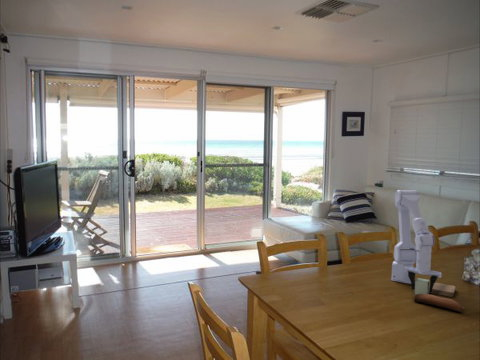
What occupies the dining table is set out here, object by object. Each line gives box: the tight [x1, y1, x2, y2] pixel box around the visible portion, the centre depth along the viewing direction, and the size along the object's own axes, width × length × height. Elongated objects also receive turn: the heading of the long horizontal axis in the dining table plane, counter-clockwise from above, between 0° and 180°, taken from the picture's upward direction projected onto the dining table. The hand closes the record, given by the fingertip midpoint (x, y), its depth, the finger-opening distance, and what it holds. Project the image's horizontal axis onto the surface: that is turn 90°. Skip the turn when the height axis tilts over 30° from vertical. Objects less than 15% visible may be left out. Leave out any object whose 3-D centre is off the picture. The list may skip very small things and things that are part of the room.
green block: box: [414, 277, 430, 295], centre depth 183 cm, size 5×5×6 cm
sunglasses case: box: [413, 293, 465, 314], centre depth 170 cm, size 18×7×7 cm
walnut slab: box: [429, 282, 456, 298], centre depth 186 cm, size 10×10×2 cm
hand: (421, 290), depth 183 cm, fingers open, 6 cm apart
